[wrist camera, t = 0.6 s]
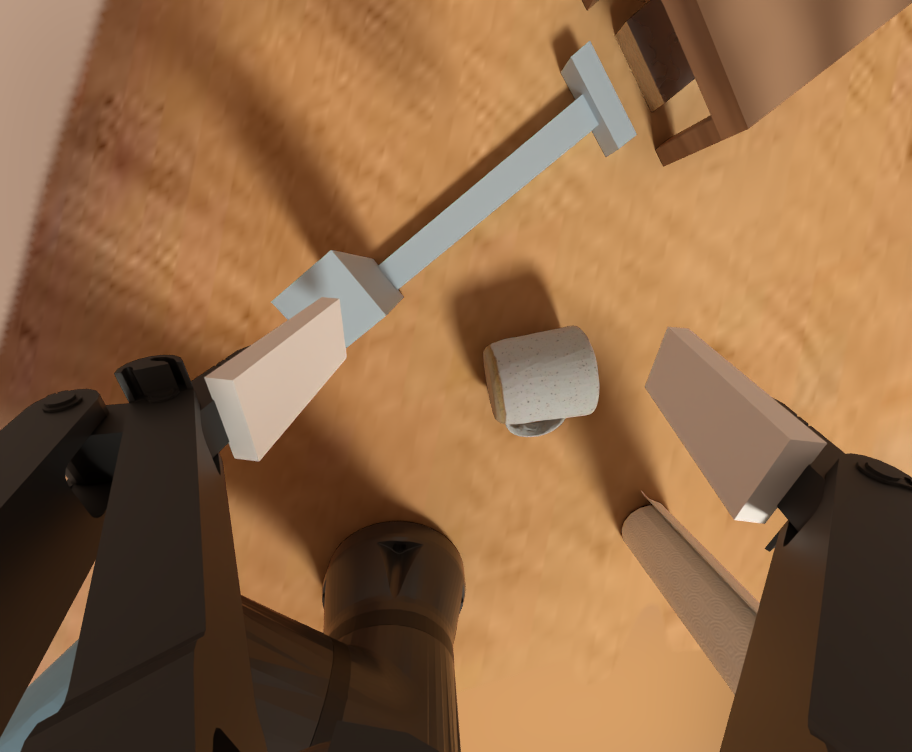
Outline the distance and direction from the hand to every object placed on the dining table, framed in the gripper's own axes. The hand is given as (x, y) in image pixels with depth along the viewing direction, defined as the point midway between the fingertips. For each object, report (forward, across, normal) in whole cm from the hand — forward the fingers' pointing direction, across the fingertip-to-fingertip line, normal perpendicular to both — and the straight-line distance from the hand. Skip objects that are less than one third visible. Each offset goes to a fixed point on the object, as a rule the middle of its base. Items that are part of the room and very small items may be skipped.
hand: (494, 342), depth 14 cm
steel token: (+24, -11, -15) cm, 30 cm away
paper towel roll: (+15, -20, +27) cm, 37 cm away
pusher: (+18, +3, -3) cm, 19 cm away
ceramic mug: (+16, -4, +11) cm, 20 cm away
